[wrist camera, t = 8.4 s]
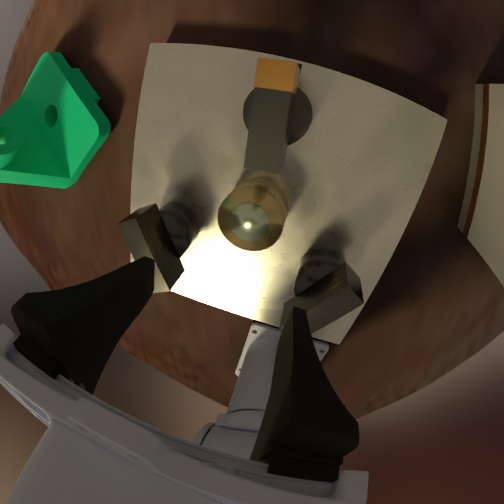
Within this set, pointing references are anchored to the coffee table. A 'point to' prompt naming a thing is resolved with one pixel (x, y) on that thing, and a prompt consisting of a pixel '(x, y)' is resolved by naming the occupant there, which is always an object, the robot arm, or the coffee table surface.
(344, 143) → the base
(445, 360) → the coffee table surface
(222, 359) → the coffee table surface
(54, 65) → the camera mount
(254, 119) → the tan-ended square prism
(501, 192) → the white dispenser tower
